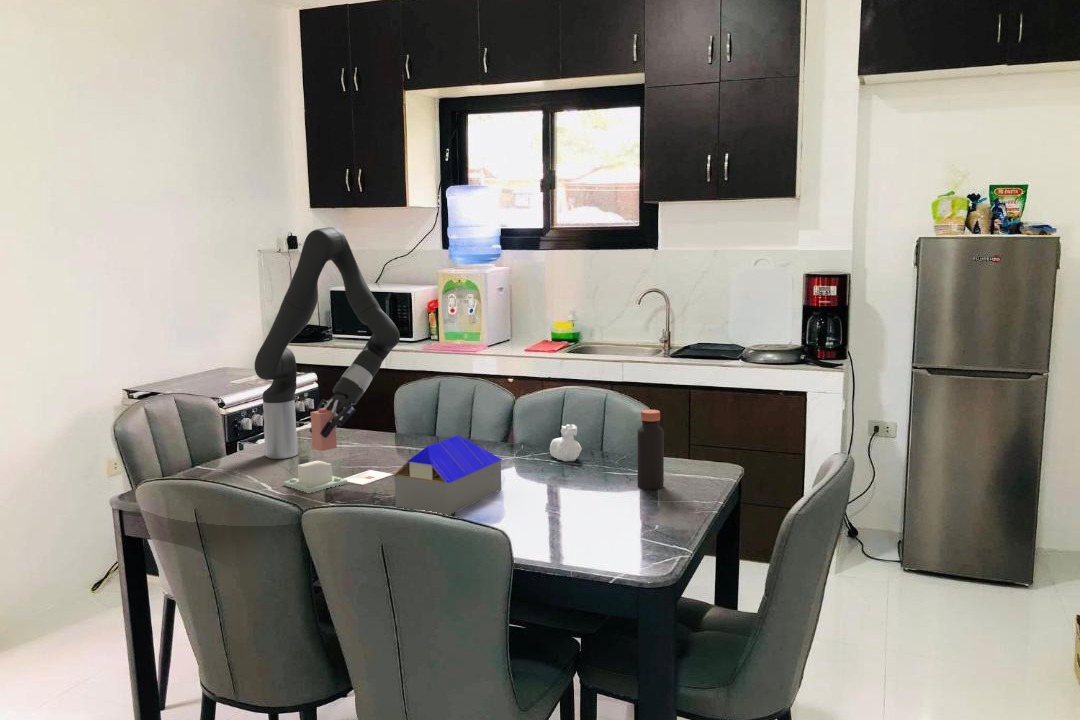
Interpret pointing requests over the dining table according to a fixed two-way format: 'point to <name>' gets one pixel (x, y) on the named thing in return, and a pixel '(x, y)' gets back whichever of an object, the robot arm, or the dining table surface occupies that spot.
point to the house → (447, 477)
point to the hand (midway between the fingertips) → (317, 434)
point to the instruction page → (367, 477)
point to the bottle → (650, 451)
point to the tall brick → (317, 425)
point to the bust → (566, 444)
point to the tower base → (314, 487)
